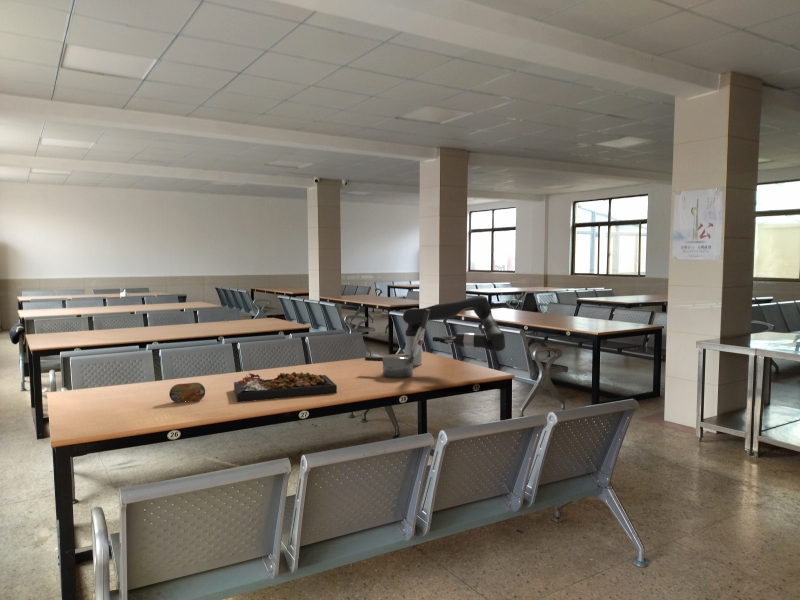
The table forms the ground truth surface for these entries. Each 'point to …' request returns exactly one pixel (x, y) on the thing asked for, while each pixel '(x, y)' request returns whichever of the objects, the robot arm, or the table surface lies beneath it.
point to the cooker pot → (395, 365)
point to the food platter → (283, 386)
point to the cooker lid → (420, 335)
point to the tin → (187, 392)
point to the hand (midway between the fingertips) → (433, 339)
